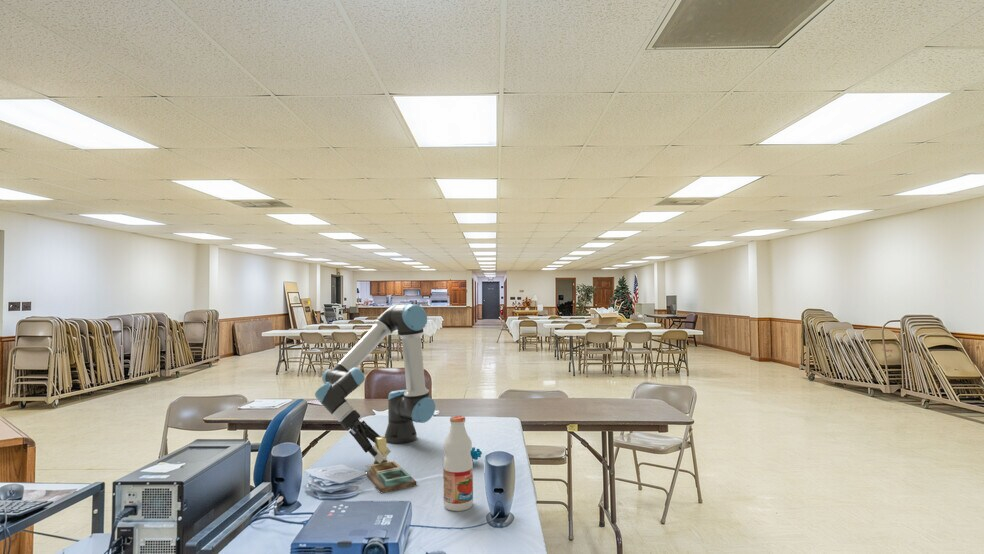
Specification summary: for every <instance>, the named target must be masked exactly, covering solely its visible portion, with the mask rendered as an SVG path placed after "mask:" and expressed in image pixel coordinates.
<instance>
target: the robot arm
mask: <svg viewBox="0 0 984 554" xmlns="http://www.w3.org/2000/svg"><path fill="white" fill-rule="evenodd" d="M373 323H374V324H373V325H372V327H371V328H370V329H369V330H368V331H367V332H366V333H365V334H364V335H363V336H362V337H361V338H360V339H359V341H357V343H355V345H354V346H353V347H352V348H351V349H350V350H349V351H348V352H347V353H346V354H345V355H344V356H343V357H342V358H341V359H340V361H338V362H337V364H336V365H335V366H334V367H332V368H329V369H327V370H325V371H324V372H323V374H322V378H321V379H322V382H323V384H322V385H321V386H320V387H319V388H318V389H317V390H316V391H315V393H314V396H315V398H316V399H317V400H318V402H319V404H321V405H322V406H323V407H324V408H325V409H326V410H327V411H328V412H329V413H330V414H331V415H332V417H333V419H335V420H336V421H337V422H338V423H340V425H341V426H342V428H343V429H345V430H348V429H350V430H349V431H348V433H349V434H350V435H351V436H352V437H353V439H354V440H355V441H356V442H357V444H358V445H359V447H361V449H362V450H363V452H365V454H367V452H368V453H369V454H370V455H371V456H372V457H373V458H374V460H375V459H376V460H377V461H378V462H379V464H380V463H381V462H382V461H383V460H384V459H385V457H384V456H383V455H382V454H381V453H380V452H379V451H378V450H377V449H376V448H375V445H372V443H371V442H373V444H375V438H376V437H381V435H379V433H377V431H375V429H373V428H372V427H371V426H370V425H369V424H368V423H367V422H366V421H365V420H362V421H361V420H360V418H361V414H360V413H359V412H358V411H357V409H354V407H353V406H352V405H351V403H349V401H348V400H347V399H346V398H347V397H348V396H349V395H351V393H352V392H354V391H355V390H356V389H357V388H359V387H360V386H361V385H362V384H363V383H364V382H365V380H366V377H365V375H364V373H363V372H362V370H361V369H360V368H358V367H359V366H360V365H361V364H362V363H363V362H364V361H365V360H366V358H367V357H369V355H370V354H371V353H372V352H373V351H374V350H375V349H376V348H377V346H378V345H379V344H380V343H381V342H382V341H383V340H384V339H385V338H386V337H387V336H390V335H391V334H393V333H394V332H395V331H397V336H399V337H400V338H401V345H402V352H403V353H402V354H403V365H404V367H403V368H404V375H405V376H404V377H405V388H406V389H398V390H392V391H390V392H389V393H388V397H387V398H388V400H387V401H388V403H387V405H388V406H387V407H388V408H387V409H388V412H387V413H388V416H387V417H388V418H387V419H388V421H387V422H388V423H387V426H386V429H385V433H384V437H386V438H387V443H391V444H406V443H411V442H413V441H415V440H417V439H418V437H417V436H418V435H417V429H416V427H415V424H414V423H416V424H417V423H420V424H423V423H427V422H429V421H430V420H431V419H432V417H433V416H434V414H435V412H436V402H435V401H434V399H432V397H430V389H428V388H427V387H426V381H425V380H426V379H425V370H424V361H423V360H424V359H423V350H422V349H423V348H422V347H423V346H422V339H421V338H422V335H423V334H424V328H425V327H426V325H427V323H428V315H427V312H426V311H425V309H424V308H423V307H422V306H421V305H419V304H414V303H409V304H408V303H406V304H405V303H404V304H403V303H401V304H400V303H399V304H394V305H392V306H390V307H388V308H387V309H386V310H385V311H384V312H382V313H381V314H380V315H379V316H378V317H377V318H376V319H375V320H374V322H373ZM370 441H371V442H370ZM391 452H392V450H391V449H390V448H389V447H388V446H387V456H388V455H390V453H391Z"/></svg>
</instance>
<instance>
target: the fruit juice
mask: <svg viewBox="0 0 984 554" xmlns="http://www.w3.org/2000/svg"><path fill="white" fill-rule="evenodd" d="M465 423H466V417H465V416H464V415H453V416H450V417H449V424H450V429H449V432H448V435H447V436H446V438H445V440H444V442H443V450H444V458H443V464H442V465H443V505H444V508H445V509H446V510H448V511H452V512H462V511H466V510H469V509H471V507H473V505H474V504H473V503H474V487H473V485H474V479H473V478H474V475H473V471H474V470H473V468H474V467H473V465H474V464H473V461H472V457H471V450H472V448H473V442H472V439H471V438H470V436H469V435H468V433H467V431H466V430H467V429H466V427H465Z"/></svg>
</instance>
